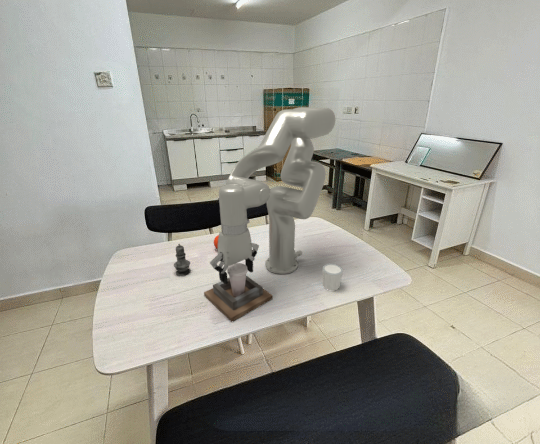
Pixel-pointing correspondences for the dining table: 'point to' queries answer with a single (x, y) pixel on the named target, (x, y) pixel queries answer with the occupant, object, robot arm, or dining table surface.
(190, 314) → the dining table surface
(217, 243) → the clementine
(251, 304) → the socket block
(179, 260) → the chess piece
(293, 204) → the robot arm
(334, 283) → the shot glass
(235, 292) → the smoothie
